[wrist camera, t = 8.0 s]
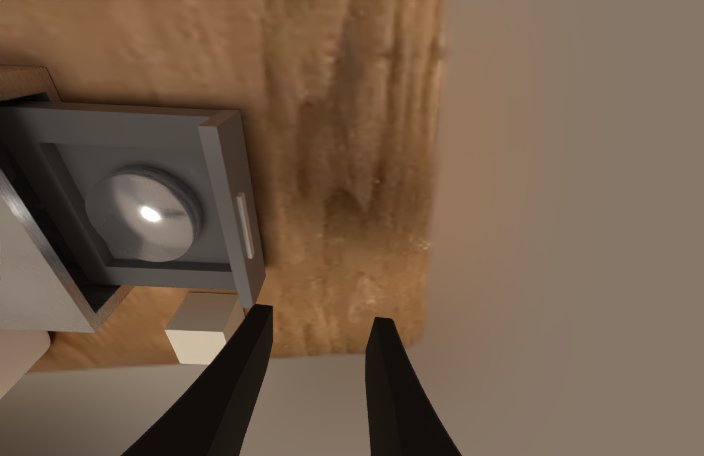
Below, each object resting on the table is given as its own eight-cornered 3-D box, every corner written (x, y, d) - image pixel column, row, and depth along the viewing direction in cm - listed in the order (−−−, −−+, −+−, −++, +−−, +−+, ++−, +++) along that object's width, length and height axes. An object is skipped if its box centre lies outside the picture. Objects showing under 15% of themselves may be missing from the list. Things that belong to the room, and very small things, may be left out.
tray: (14, 99, 15) (-56, 113, 12) (244, 110, 15) (222, 127, 13) (106, 268, 21) (73, 301, 19) (269, 275, 21) (257, 308, 19)
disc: (89, 162, 16) (65, 175, 15) (191, 167, 16) (176, 180, 15) (127, 243, 19) (110, 260, 18) (213, 247, 19) (202, 263, 18)
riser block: (188, 292, 23) (164, 329, 21) (239, 294, 23) (223, 332, 21) (200, 325, 26) (180, 363, 23) (247, 327, 26) (233, 365, 23)
